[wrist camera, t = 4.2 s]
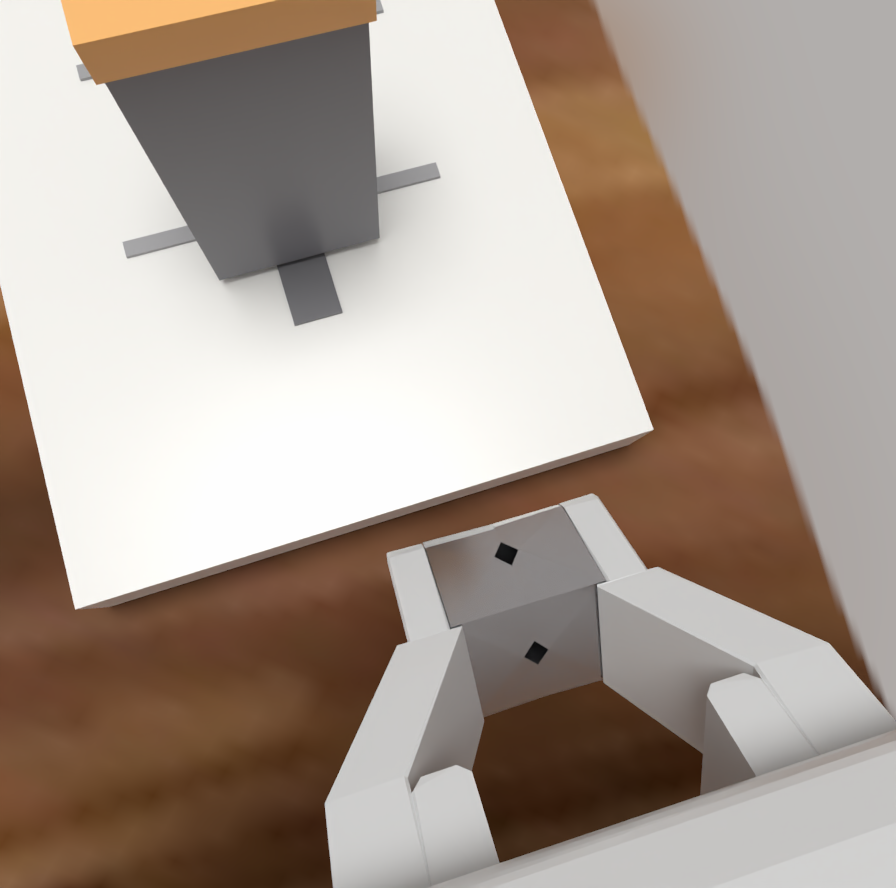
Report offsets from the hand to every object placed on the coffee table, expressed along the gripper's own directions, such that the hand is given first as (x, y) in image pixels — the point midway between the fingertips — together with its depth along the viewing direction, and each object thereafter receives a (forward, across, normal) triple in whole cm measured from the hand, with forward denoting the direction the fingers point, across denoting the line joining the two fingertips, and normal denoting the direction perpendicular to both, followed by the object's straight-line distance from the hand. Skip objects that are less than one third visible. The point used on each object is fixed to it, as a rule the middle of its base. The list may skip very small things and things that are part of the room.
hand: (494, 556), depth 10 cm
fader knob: (+12, +2, -2) cm, 12 cm away
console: (+17, +2, -5) cm, 18 cm away
